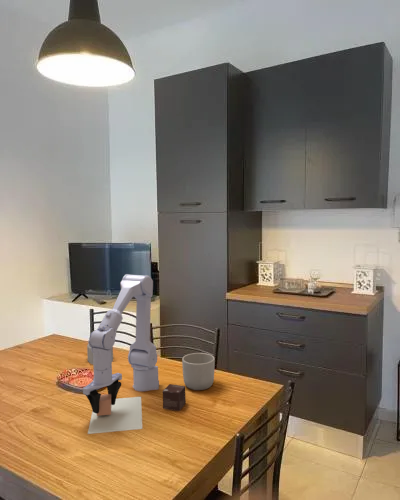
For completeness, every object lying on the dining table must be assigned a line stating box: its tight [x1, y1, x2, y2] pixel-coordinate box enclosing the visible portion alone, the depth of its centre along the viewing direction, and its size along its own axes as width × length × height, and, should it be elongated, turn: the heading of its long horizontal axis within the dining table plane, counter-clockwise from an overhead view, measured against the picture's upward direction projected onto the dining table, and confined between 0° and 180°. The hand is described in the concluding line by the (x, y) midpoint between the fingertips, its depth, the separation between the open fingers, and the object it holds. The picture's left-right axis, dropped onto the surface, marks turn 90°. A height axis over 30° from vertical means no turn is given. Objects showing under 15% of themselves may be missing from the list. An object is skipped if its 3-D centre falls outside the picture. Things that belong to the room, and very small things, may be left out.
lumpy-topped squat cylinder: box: [86, 343, 114, 365], centre depth 184 cm, size 10×13×9 cm
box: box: [162, 383, 187, 412], centre depth 135 cm, size 6×6×7 cm
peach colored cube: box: [97, 393, 112, 416], centre depth 130 cm, size 4×4×5 cm
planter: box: [181, 352, 216, 391], centre depth 154 cm, size 12×12×11 cm
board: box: [87, 396, 143, 435], centre depth 131 cm, size 16×22×5 cm
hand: (104, 408), depth 130 cm, fingers closed on peach colored cube, 6 cm apart
